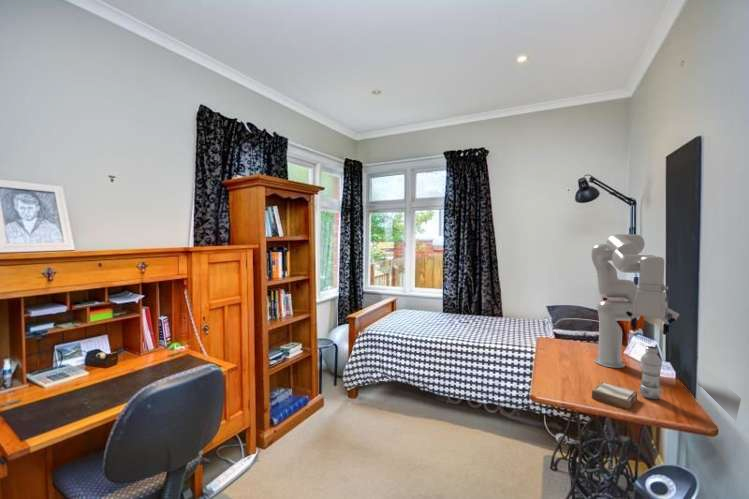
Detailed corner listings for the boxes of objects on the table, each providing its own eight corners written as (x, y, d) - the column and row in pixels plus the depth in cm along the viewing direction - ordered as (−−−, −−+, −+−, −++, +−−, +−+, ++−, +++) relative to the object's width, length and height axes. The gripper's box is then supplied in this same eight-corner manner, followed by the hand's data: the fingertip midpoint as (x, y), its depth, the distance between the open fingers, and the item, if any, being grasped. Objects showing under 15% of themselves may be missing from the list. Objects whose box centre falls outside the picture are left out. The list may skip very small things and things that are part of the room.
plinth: (601, 389, 147) (602, 381, 147) (636, 399, 138) (637, 391, 138) (591, 398, 139) (592, 390, 139) (628, 409, 130) (628, 400, 130)
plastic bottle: (662, 403, 135) (664, 351, 134) (640, 398, 139) (642, 348, 138) (659, 396, 140) (661, 346, 140) (638, 392, 144) (640, 344, 143)
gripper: (682, 289, 134) (680, 334, 134) (627, 284, 147) (626, 325, 148) (677, 291, 129) (675, 338, 129) (621, 286, 142) (620, 328, 143)
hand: (649, 331), depth 138 cm, fingers open, 9 cm apart
